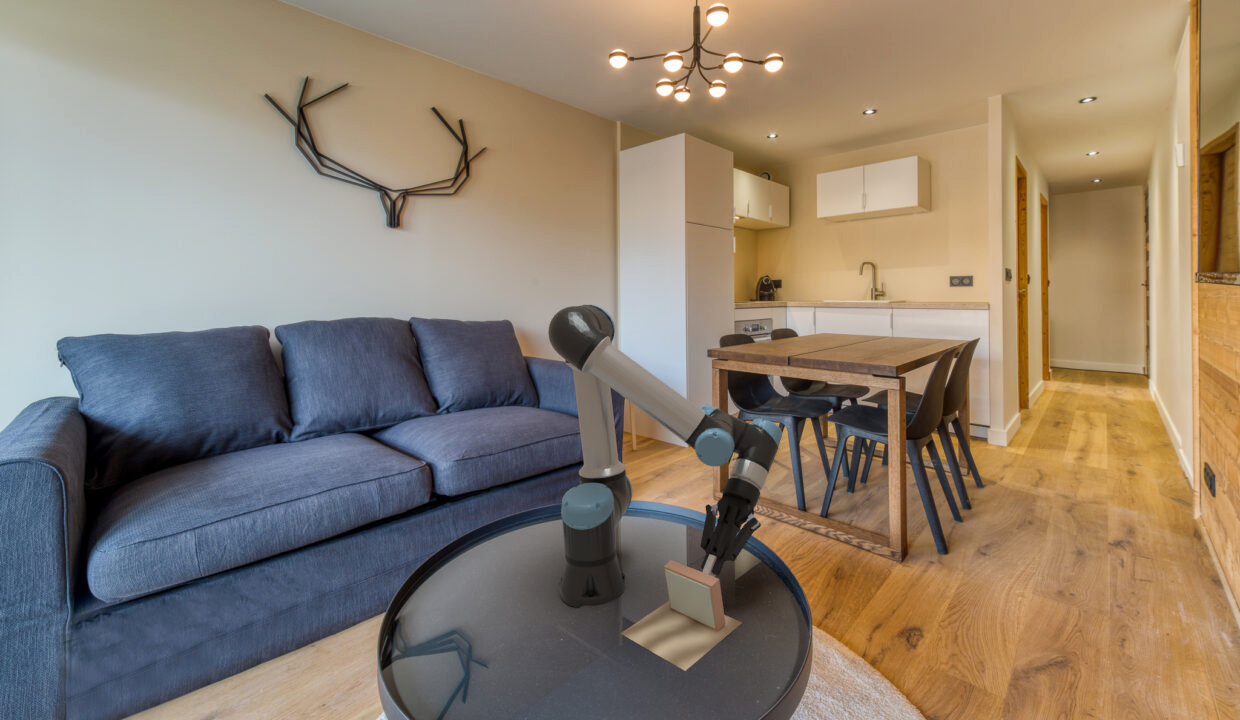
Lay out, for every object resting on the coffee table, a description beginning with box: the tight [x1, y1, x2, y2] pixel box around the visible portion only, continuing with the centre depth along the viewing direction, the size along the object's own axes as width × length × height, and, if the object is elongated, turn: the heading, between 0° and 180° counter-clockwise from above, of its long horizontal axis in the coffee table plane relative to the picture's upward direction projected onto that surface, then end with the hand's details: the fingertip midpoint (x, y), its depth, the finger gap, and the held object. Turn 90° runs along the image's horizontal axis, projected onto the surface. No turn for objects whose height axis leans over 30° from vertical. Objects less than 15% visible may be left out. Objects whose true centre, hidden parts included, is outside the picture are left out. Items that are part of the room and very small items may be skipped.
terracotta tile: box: [663, 559, 726, 631], centre depth 107 cm, size 12×3×10 cm, turn 45°
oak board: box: [620, 600, 743, 672], centre depth 105 cm, size 16×18×1 cm
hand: (703, 587), depth 108 cm, fingers closed
